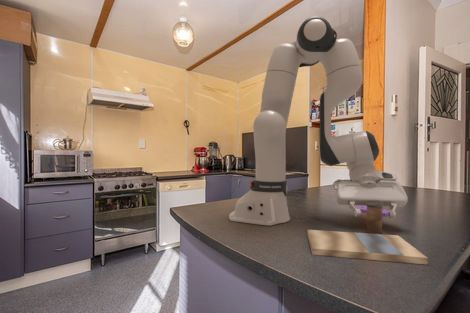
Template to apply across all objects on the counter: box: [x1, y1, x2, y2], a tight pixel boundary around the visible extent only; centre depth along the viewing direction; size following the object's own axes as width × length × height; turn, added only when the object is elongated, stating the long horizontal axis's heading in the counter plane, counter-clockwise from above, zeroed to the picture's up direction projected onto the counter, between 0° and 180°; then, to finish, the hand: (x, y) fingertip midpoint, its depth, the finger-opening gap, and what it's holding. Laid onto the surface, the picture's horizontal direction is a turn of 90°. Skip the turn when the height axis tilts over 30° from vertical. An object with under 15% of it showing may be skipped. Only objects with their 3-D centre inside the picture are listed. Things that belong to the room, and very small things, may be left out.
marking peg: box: [366, 202, 383, 235], centre depth 71 cm, size 4×4×9 cm
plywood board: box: [307, 229, 429, 265], centre depth 61 cm, size 24×14×2 cm, turn 77°
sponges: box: [355, 205, 390, 218], centre depth 96 cm, size 7×13×2 cm, turn 38°
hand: (375, 216), depth 71 cm, fingers open, 8 cm apart
